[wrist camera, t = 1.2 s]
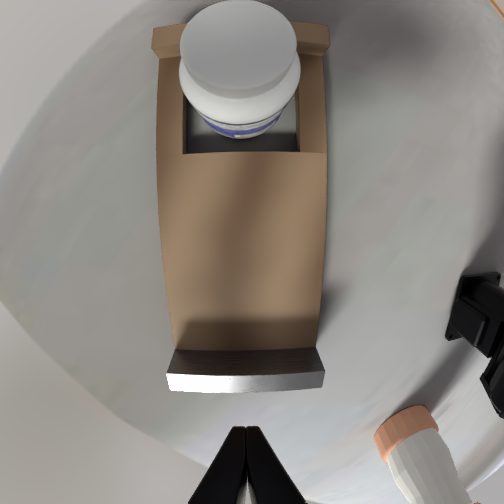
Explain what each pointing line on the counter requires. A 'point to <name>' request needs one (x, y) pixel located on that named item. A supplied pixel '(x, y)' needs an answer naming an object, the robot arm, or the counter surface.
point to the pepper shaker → (420, 458)
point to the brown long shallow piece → (243, 239)
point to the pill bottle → (239, 66)
